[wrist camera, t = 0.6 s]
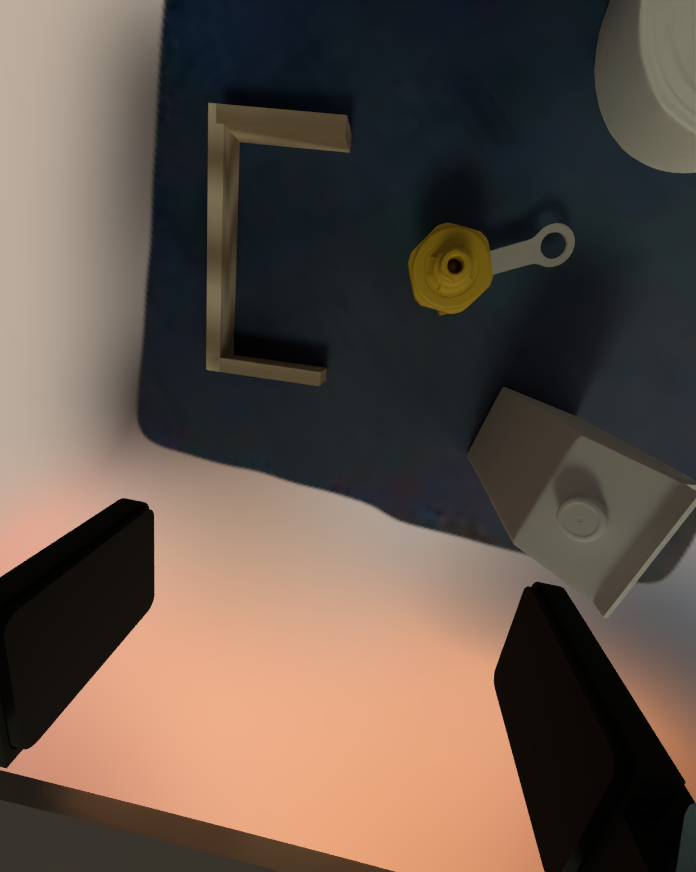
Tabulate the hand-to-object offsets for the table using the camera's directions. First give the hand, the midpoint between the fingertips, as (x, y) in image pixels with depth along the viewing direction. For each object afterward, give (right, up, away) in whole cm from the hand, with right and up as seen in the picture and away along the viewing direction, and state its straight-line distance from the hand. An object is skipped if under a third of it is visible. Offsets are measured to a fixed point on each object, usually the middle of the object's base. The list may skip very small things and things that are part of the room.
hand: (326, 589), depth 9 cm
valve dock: (-5, +19, +24) cm, 31 cm away
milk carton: (+16, +4, +26) cm, 31 cm away
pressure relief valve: (+11, +18, +22) cm, 31 cm away
